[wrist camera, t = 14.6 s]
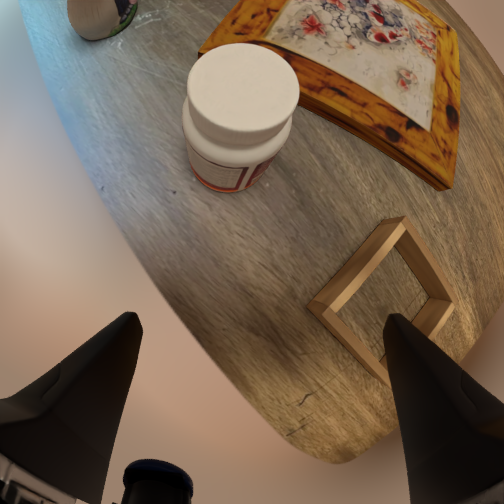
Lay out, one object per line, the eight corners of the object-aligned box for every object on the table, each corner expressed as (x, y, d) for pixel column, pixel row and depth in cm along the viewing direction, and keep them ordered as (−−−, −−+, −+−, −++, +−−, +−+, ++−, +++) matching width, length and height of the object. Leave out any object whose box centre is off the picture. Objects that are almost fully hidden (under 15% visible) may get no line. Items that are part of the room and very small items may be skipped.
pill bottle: (254, 117, 23) (289, 31, 12) (274, 185, 23) (329, 131, 12) (182, 132, 22) (167, 45, 11) (198, 202, 22) (189, 155, 11)
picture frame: (198, 51, 20) (300, -58, 22) (198, 65, 22) (297, -49, 24) (452, 188, 23) (456, 31, 25) (438, 191, 26) (449, 37, 27)
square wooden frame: (373, 376, 24) (392, 390, 21) (305, 306, 23) (321, 314, 20) (436, 296, 26) (459, 300, 22) (383, 219, 24) (406, 215, 21)
